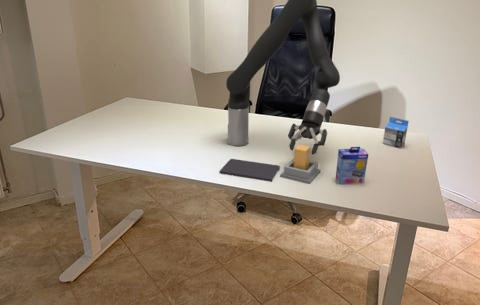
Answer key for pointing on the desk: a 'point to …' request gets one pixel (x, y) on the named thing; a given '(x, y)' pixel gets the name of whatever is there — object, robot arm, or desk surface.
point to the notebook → (250, 169)
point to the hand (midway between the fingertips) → (301, 151)
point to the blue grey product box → (395, 133)
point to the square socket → (301, 172)
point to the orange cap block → (301, 157)
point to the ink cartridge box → (351, 165)
